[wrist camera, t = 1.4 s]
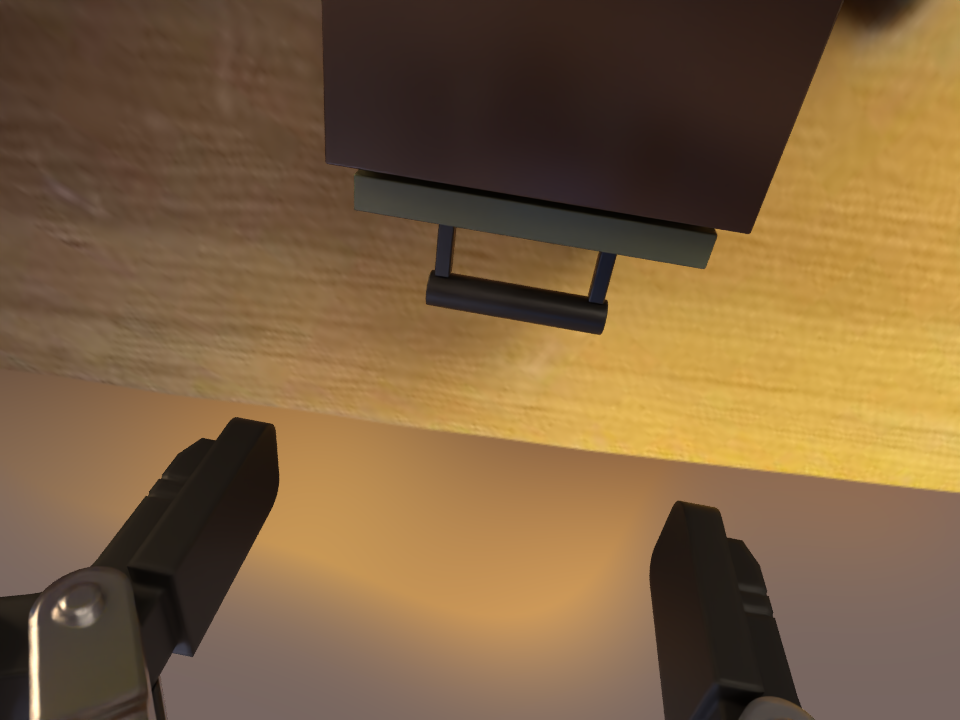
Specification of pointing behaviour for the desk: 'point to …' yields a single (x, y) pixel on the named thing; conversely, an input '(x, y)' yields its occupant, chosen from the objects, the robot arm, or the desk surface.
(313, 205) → the desk surface
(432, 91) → the cabinet
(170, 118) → the desk surface
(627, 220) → the drawer
